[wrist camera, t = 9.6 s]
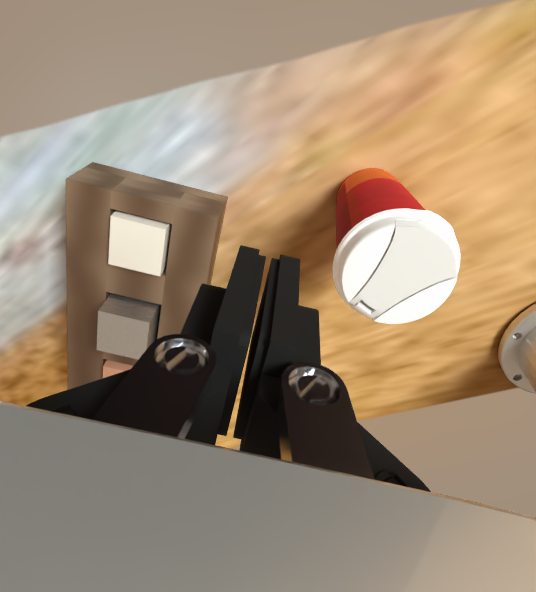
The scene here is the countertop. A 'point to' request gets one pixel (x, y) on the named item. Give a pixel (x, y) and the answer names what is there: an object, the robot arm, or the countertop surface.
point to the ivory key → (139, 243)
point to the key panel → (113, 279)
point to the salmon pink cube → (114, 368)
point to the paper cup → (391, 250)
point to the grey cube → (127, 325)
